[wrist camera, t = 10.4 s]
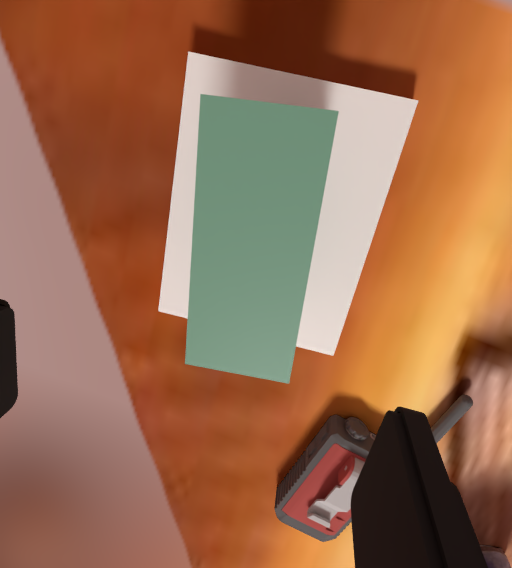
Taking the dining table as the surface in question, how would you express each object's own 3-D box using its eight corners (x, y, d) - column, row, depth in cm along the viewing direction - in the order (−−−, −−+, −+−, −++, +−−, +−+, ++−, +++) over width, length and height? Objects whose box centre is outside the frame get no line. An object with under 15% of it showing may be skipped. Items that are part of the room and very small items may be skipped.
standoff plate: (412, 102, 24) (437, 95, 19) (332, 345, 31) (335, 387, 26) (195, 55, 25) (164, 37, 20) (165, 303, 32) (136, 335, 27)
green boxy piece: (335, 114, 20) (338, 111, 16) (293, 346, 25) (288, 383, 22) (221, 99, 21) (200, 93, 17) (204, 330, 26) (185, 363, 22)
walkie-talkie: (344, 532, 39) (475, 392, 31) (347, 578, 35) (498, 431, 27) (267, 494, 39) (379, 343, 31) (261, 537, 35) (389, 375, 27)
